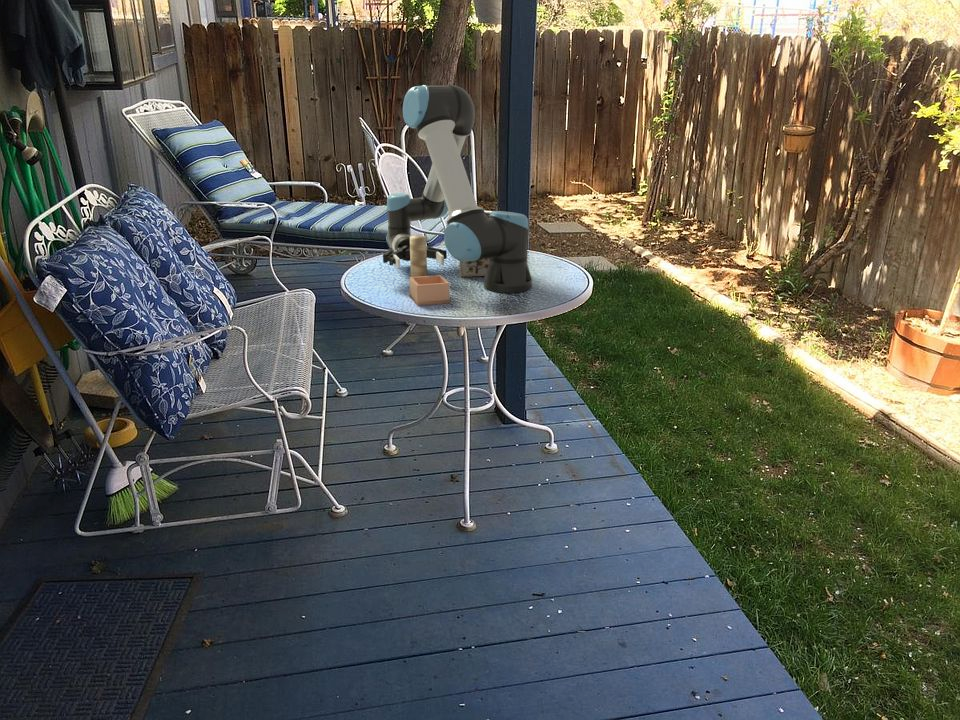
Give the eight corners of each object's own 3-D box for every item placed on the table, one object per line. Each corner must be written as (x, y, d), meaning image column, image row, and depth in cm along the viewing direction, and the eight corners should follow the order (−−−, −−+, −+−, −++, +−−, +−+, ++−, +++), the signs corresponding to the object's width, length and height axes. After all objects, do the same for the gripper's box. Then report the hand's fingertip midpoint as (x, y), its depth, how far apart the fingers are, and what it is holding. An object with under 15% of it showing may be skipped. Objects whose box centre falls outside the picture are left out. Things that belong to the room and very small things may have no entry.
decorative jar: (495, 268, 255) (496, 216, 248) (495, 277, 244) (496, 222, 238) (460, 268, 255) (460, 215, 249) (458, 277, 244) (458, 222, 238)
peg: (425, 285, 234) (424, 235, 229) (429, 289, 230) (428, 238, 224) (409, 286, 233) (408, 236, 227) (413, 291, 229) (411, 239, 223)
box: (441, 294, 226) (440, 274, 223) (449, 303, 217) (449, 283, 215) (409, 296, 223) (409, 277, 221) (417, 305, 214) (416, 285, 212)
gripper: (442, 256, 249) (460, 271, 230) (368, 261, 242) (380, 277, 223) (442, 233, 246) (460, 247, 228) (367, 238, 239) (379, 252, 220)
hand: (421, 262), depth 225 cm, fingers open, 13 cm apart
